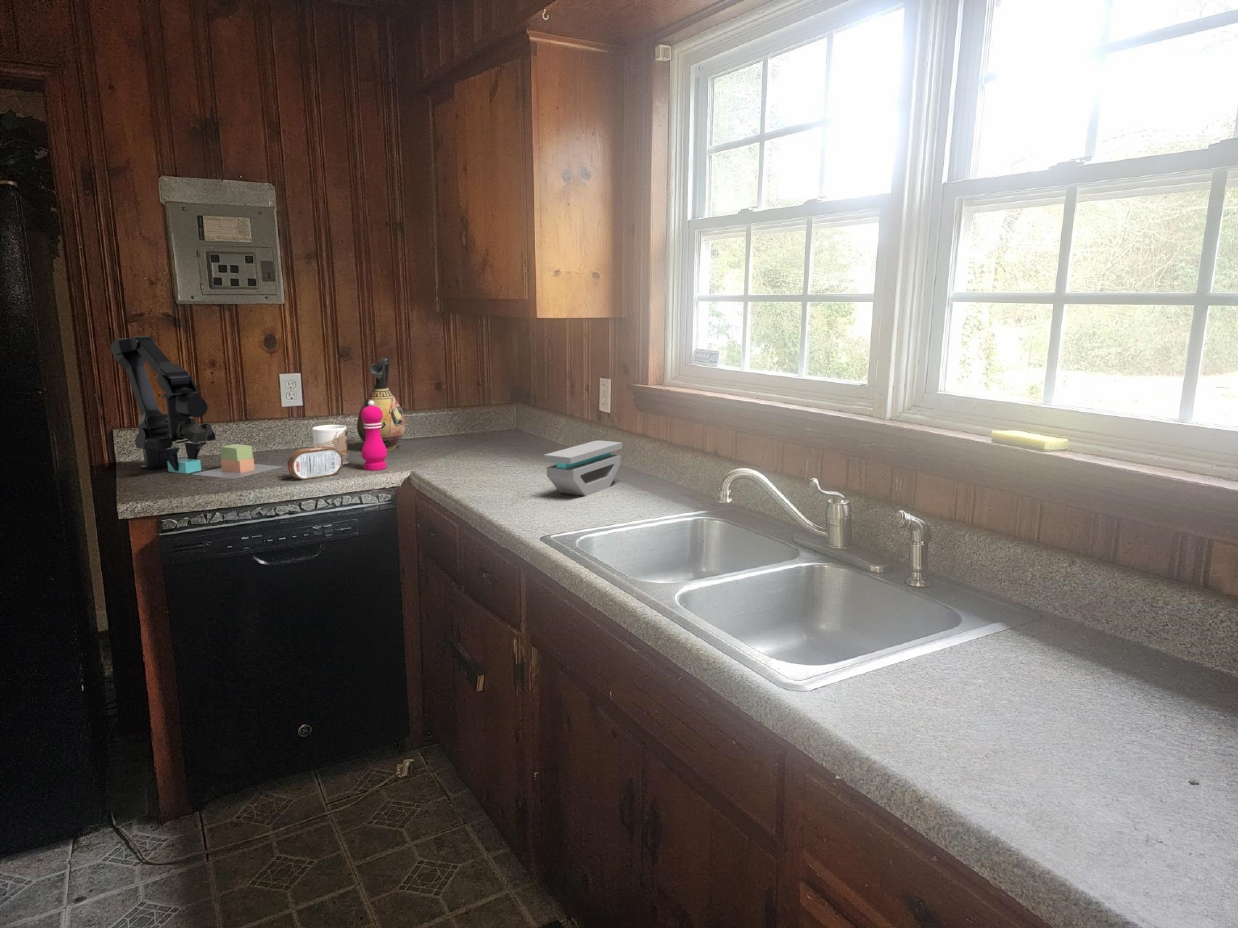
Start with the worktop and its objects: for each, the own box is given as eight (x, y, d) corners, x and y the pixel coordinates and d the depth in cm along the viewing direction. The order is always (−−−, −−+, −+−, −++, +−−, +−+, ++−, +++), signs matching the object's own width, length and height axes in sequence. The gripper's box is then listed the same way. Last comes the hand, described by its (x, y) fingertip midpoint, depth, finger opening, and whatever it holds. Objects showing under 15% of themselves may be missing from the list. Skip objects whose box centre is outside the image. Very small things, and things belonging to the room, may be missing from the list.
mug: (305, 464, 242) (303, 428, 240) (333, 457, 253) (331, 423, 251) (333, 467, 238) (331, 430, 236) (360, 460, 249) (358, 424, 247)
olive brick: (221, 458, 230) (220, 446, 229) (236, 455, 234) (235, 444, 234) (237, 460, 227) (236, 448, 226) (252, 457, 231) (251, 445, 230)
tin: (340, 472, 231) (338, 443, 229) (345, 474, 229) (343, 445, 227) (288, 480, 220) (285, 450, 219) (293, 482, 218) (290, 451, 217)
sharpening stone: (597, 479, 221) (597, 440, 218) (622, 482, 217) (622, 442, 215) (544, 498, 199) (543, 454, 197) (571, 501, 195) (570, 457, 193)
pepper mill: (380, 471, 232) (376, 402, 228) (357, 470, 234) (353, 401, 230) (392, 466, 239) (388, 399, 235) (370, 465, 241) (365, 398, 237)
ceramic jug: (399, 453, 260) (394, 360, 255) (352, 453, 261) (345, 360, 255) (413, 444, 277) (408, 356, 271) (368, 444, 277) (363, 356, 272)
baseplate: (191, 476, 226) (191, 474, 226) (242, 464, 242) (242, 462, 242) (234, 480, 220) (233, 478, 220) (283, 468, 237) (283, 466, 236)
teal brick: (168, 473, 230) (167, 461, 229) (183, 470, 235) (182, 458, 234) (186, 475, 228) (185, 463, 227) (201, 471, 232) (200, 459, 231)
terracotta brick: (222, 471, 230) (220, 459, 230) (236, 467, 235) (235, 456, 234) (240, 472, 228) (239, 460, 227) (254, 469, 232) (253, 457, 232)
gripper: (170, 420, 216) (176, 477, 219) (227, 412, 233) (232, 465, 236) (140, 418, 221) (147, 474, 224) (198, 410, 238) (204, 462, 241)
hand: (184, 469), depth 231 cm, fingers closed on teal brick, 5 cm apart
